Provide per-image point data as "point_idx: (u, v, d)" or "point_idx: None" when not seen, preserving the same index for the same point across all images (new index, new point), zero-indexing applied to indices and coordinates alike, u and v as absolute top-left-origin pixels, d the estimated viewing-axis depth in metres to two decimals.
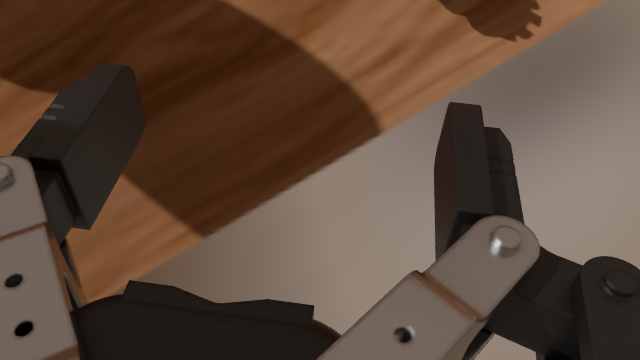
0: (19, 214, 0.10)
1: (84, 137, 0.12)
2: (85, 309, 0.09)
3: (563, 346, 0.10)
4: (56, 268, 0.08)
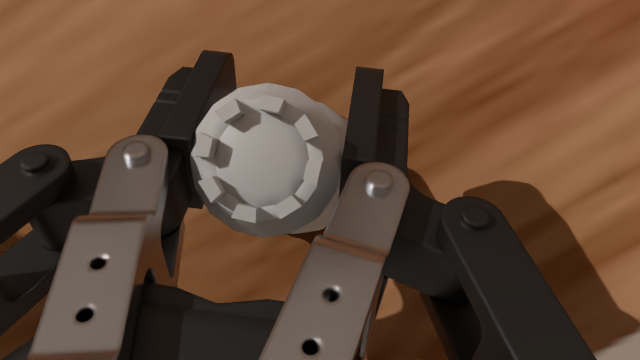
0: (137, 196, 0.10)
1: None
2: (151, 312, 0.09)
3: (433, 280, 0.11)
4: (137, 265, 0.08)
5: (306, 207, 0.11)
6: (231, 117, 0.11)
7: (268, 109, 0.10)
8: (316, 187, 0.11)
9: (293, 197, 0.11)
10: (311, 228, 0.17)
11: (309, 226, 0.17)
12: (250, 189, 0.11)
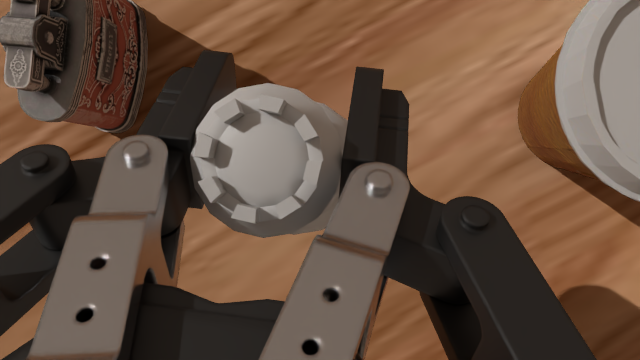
0: (137, 196, 0.10)
1: None
2: (151, 312, 0.09)
3: (433, 280, 0.11)
4: (137, 265, 0.08)
5: (306, 207, 0.11)
6: (231, 117, 0.11)
7: (268, 109, 0.10)
8: (316, 187, 0.11)
9: (293, 197, 0.11)
10: (311, 228, 0.17)
11: (309, 226, 0.17)
12: (249, 189, 0.11)
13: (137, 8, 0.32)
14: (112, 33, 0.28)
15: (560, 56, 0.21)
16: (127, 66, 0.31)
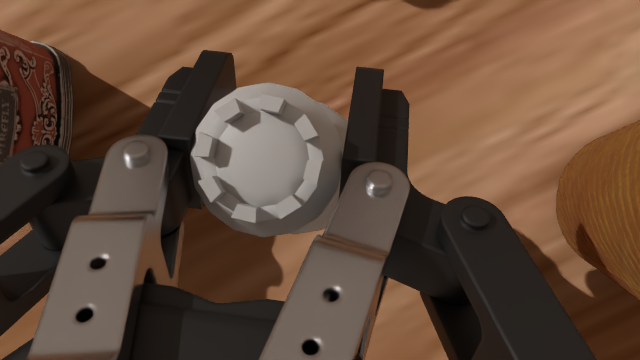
0: (137, 196, 0.10)
1: None
2: (151, 312, 0.09)
3: (433, 280, 0.11)
4: (137, 265, 0.08)
5: (306, 207, 0.11)
6: (231, 116, 0.11)
7: (268, 109, 0.10)
8: (316, 187, 0.11)
9: (293, 197, 0.11)
10: (312, 228, 0.17)
11: (310, 226, 0.17)
12: (249, 189, 0.11)
13: (57, 56, 0.24)
14: (8, 100, 0.21)
15: None
16: (39, 137, 0.23)
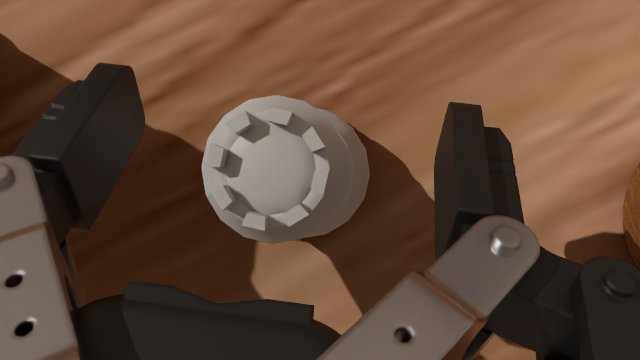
0: (19, 214, 0.10)
1: (84, 137, 0.12)
2: (85, 309, 0.09)
3: (563, 346, 0.10)
4: (56, 268, 0.08)
5: (313, 215, 0.11)
6: (241, 129, 0.11)
7: (277, 121, 0.11)
8: (323, 196, 0.11)
9: (301, 206, 0.11)
10: (317, 232, 0.17)
11: (315, 230, 0.17)
12: (259, 197, 0.11)
13: None
14: None
15: None
16: None
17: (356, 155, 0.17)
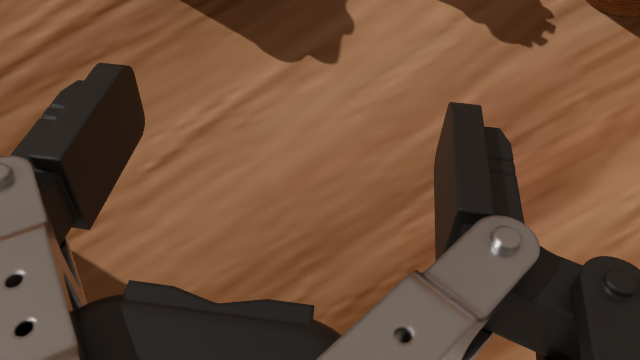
0: (19, 214, 0.10)
1: (84, 137, 0.12)
2: (85, 309, 0.09)
3: (563, 346, 0.10)
4: (56, 268, 0.08)
5: None
6: None
7: None
8: None
9: None
10: None
11: None
12: None
13: None
14: None
15: None
16: None
17: None
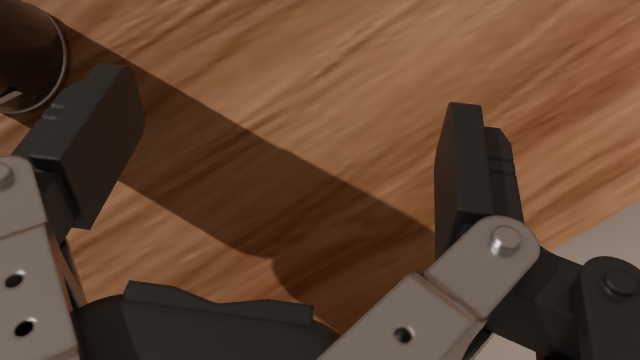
0: (19, 214, 0.10)
1: (84, 137, 0.12)
2: (85, 309, 0.09)
3: (563, 346, 0.10)
4: (56, 268, 0.08)
5: None
6: None
7: None
8: None
9: None
10: None
11: None
12: None
13: None
14: None
15: None
16: None
17: None
